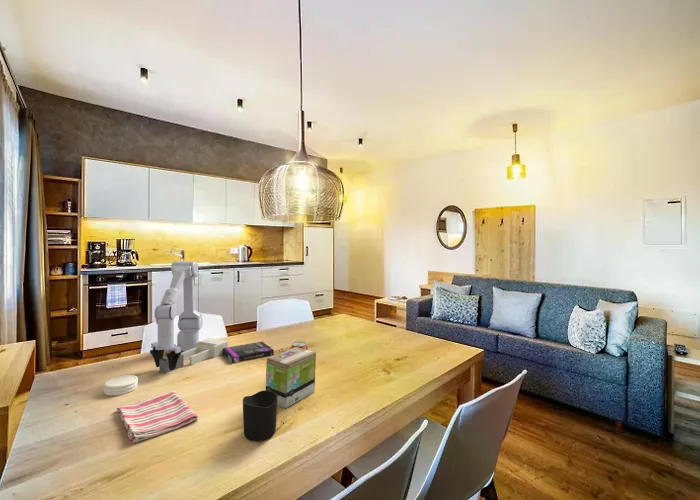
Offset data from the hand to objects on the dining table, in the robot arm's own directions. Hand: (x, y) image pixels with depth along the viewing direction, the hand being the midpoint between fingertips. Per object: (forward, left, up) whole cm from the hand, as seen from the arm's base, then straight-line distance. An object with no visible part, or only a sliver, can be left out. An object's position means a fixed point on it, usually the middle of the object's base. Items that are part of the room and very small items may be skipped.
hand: (165, 367), depth 133 cm
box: (+17, +30, -2) cm, 34 cm away
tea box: (+57, +4, -2) cm, 57 cm away
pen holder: (+61, -18, -2) cm, 64 cm away
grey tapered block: (0, +3, -2) cm, 3 cm away
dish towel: (+27, -24, -2) cm, 37 cm away
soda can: (+49, +22, -2) cm, 54 cm away
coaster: (0, -17, -2) cm, 18 cm away
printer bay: (0, +19, -1) cm, 19 cm away
